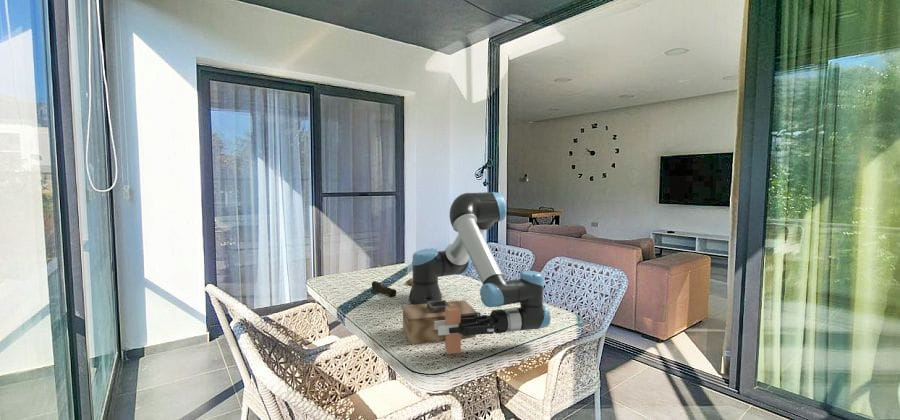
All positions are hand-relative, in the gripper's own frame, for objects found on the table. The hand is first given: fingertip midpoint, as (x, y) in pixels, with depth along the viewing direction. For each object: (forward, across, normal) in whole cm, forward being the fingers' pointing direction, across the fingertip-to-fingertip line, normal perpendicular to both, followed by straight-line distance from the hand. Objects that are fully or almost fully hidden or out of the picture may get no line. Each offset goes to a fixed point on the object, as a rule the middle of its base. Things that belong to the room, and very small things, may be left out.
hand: (436, 328), depth 129 cm
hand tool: (+9, +75, -10) cm, 77 cm away
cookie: (-10, +88, -10) cm, 89 cm away
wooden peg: (-5, 0, -8) cm, 10 cm away
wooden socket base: (-5, +19, -10) cm, 22 cm away
